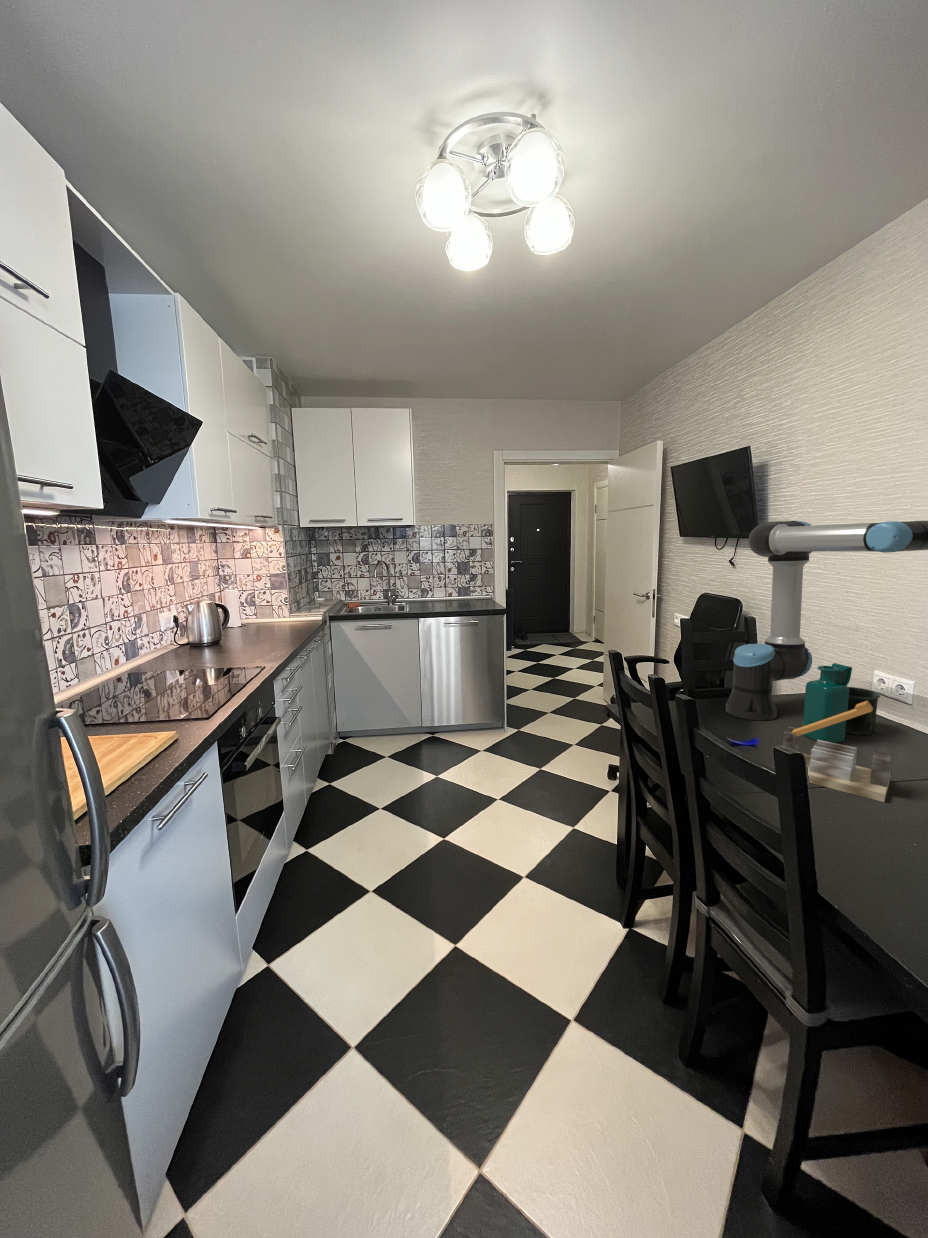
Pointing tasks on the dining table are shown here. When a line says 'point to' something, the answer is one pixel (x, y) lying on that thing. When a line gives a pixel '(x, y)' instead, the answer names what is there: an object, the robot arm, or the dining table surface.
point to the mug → (866, 721)
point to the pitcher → (827, 702)
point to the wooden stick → (835, 719)
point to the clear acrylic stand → (844, 768)
